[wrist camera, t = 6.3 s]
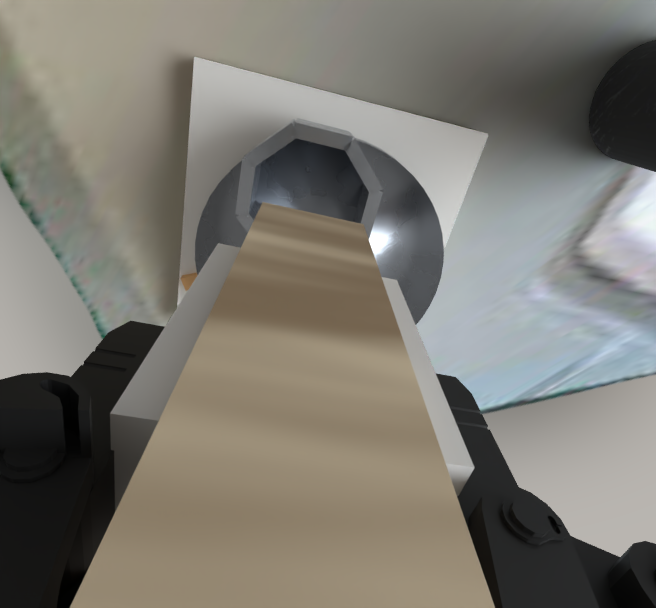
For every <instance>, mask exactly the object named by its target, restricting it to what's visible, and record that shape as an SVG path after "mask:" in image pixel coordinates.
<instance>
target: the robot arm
mask: <svg viewBox="0 0 656 608" xmlns="http://www.w3.org/2000/svg"><path fill="white" fill-rule="evenodd" d="M240 249H241V248H240V247H235V246H230V245H225V244H220V243H218V244H217V246H216V247H215V249H214V250H213V252H212V253H211V255H210V257H209V258H208V260H207V261H206V263H205V264H204V266H203V268H202V269H201V271H200V272H199V274H198V276H197V277H196V279H195V280H194V282H193V283H192V285H191V287H190V288H189V290H188V291H187V293H186V294H185V296H184V298H183V299H182V301H181V302H180V304H179V306H178V307H177V309H176V310H175V312H174V313H173V315H172V317H171V318H170V320H169V321H168V323H167V324H166V326H165V327H163V326H157V325H151V324H146V323H140V322H135V321H129V322H127V323H126V324H124V325H122V326H120V327H118V328H116V329H114V330H112V331H110V332H109V333H108V334H107V335H106V336H105V338H104V339H103V340H102V341H101V343H100V344H99V345H98V346H97V347H96V350H95V352H94V351H93V352H92V353H91V354H90V355H89V357H88V358H87V359H86V360H85V361H84V364H83V365H81V366H80V367H79V368H78V369H77V371H76V372H75V373H74V374H73V375H72V376H71V377H69V376H66V375H59V374H53V373H47V372H46V373H31V374H21V375H17V376H13V377H9V378H5V379H1V380H0V608H70V606H71V604H72V602H73V600H74V598H75V596H76V594H77V592H78V589H79V587H80V585H81V583H82V581H83V579H84V577H85V575H86V573H87V571H88V568H89V566H90V564H91V562H92V560H93V558H94V556H95V554H96V552H97V550H98V547H99V545H100V543H101V541H102V539H103V537H104V535H105V533H106V531H107V528H108V526H109V524H110V522H111V520H112V518H113V516H114V514H115V512H116V510H117V507H118V505H119V503H120V501H121V499H122V497H123V495H124V493H125V491H126V489H127V486H128V484H129V482H130V480H131V478H132V476H133V474H134V472H135V470H136V467H137V465H138V463H139V461H140V459H141V457H142V455H143V453H144V451H145V449H146V446H147V444H148V442H149V440H150V438H151V436H152V434H153V432H154V430H155V428H156V425H157V423H158V421H159V419H160V417H161V415H162V413H163V411H164V409H165V406H166V404H167V402H168V400H169V398H170V396H171V394H172V392H173V390H174V388H175V385H176V383H177V381H178V379H179V377H180V375H181V373H182V371H183V369H184V366H185V364H186V362H187V360H188V358H189V356H190V354H191V352H192V350H193V348H194V345H195V343H196V341H197V339H198V337H199V335H200V333H201V331H202V329H203V327H204V324H205V322H206V320H207V318H208V316H209V314H210V312H211V310H212V308H213V305H214V303H215V301H216V299H217V297H218V295H219V293H220V291H221V289H222V287H223V284H224V282H225V280H226V278H227V276H228V274H229V272H230V270H231V268H232V266H233V263H234V261H235V259H236V257H237V255H238V253H239V251H240ZM382 280H383V283H384V286H385V288H386V291H387V294H388V297H389V300H390V303H391V306H392V309H393V312H394V315H395V318H396V320H397V323H398V326H399V329H400V332H401V335H402V338H403V341H404V344H405V347H406V350H407V353H408V355H409V358H410V361H411V364H412V367H413V370H414V373H415V376H416V379H417V382H418V385H419V387H420V390H421V393H422V396H423V399H424V402H425V405H426V408H427V411H428V414H429V417H430V419H431V422H432V425H433V428H434V431H435V434H436V437H437V440H438V443H439V446H440V449H441V452H442V454H443V457H444V460H445V463H446V466H447V469H448V472H449V475H450V478H451V481H452V484H453V486H454V489H455V492H456V495H457V498H458V501H459V504H460V507H461V510H462V513H463V516H464V518H465V521H466V524H467V527H468V530H469V533H470V536H471V539H472V542H473V545H474V548H475V551H476V553H477V556H478V559H479V562H480V565H481V568H482V571H483V574H484V577H485V580H486V583H487V585H488V588H489V591H490V594H491V597H492V600H493V603H494V606H495V608H656V544H654V543H650V542H647V541H643V542H639V543H634V544H633V545H632V546H631V547H630V548H629V549H628V550H627V551H626V552H625V553H624V554H623V555H622V556H621V557H618V556H616V555H613V554H611V553H609V552H606V551H604V550H602V549H599V548H597V547H595V546H592V545H590V544H587V543H585V542H583V541H581V540H578V539H576V538H574V537H572V536H570V534H569V533H568V531H567V529H566V528H565V526H564V524H563V522H562V520H561V519H560V518H559V517H558V516H557V515H556V514H555V512H554V511H553V510H552V509H551V508H550V507H549V506H548V505H547V504H546V503H544V502H543V501H542V500H540V499H539V498H538V497H536V496H535V495H533V494H532V493H531V492H528V491H526V490H524V489H521V488H519V487H518V485H517V483H516V481H515V479H514V477H513V475H512V473H511V471H510V470H509V467H508V465H507V463H506V461H505V459H504V457H503V455H502V453H501V451H500V449H499V447H498V445H497V443H496V441H495V439H494V437H493V435H492V433H491V431H490V430H488V429H487V427H488V425H487V424H486V422H485V420H484V417H483V415H481V414H480V410H479V408H478V406H477V404H476V402H475V400H474V398H473V396H472V394H471V393H470V392H469V390H468V389H467V388H466V387H465V386H464V385H463V384H462V383H461V382H460V381H459V380H458V379H457V378H456V377H452V376H447V375H441V374H436V373H435V371H434V368H433V366H432V364H431V361H430V359H429V356H428V354H427V352H426V349H425V347H424V344H423V342H422V340H421V337H420V335H419V332H418V330H417V327H416V325H415V323H414V320H413V318H412V315H411V313H410V311H409V308H408V306H407V303H406V301H405V298H404V296H403V294H402V291H401V289H400V286H399V284H398V282H397V280H394V279H390V278H385V277H382Z"/></svg>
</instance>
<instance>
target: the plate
mask: <svg viewBox="0 0 656 608" xmlns="http://www.w3.org/2000/svg"><path fill="white" fill-rule="evenodd" d="M297 118H299V119H303V120H307V121H311V122H315V123H319V124H323V125H327V126H331V127H335V128H339V129H343V130H347V131H349V132H350V133H351V134H352V135H353V136H354V138H357V139H360V140H363V141H366V142H368V143H370V144H372V145H374V146H376V147H378V148H380V149H382V150H383V151H385V152H386V153H388V154H389V155H391V156H392V157H394V158H395V159H396V160H397V161H398V162H399V163H400V164H401V165H402V166H404V167H405V168H406V169H407V170H408V171H409V172H410V173H411V174H412V175H413V176H414V177H415V178H416V180H417V181H418V182H419V183H420V185H421V186H422V187H423V188H424V190H425V192H426V193H427V195H428V197H429V198H430V200H431V202H432V204H433V206H434V208H435V211H436V213H437V216H438V218H439V222H440V226H441V230H442V236H443V246H444V249H445V246H446V244H447V241H448V238H449V236H450V233H451V231H452V228H453V226H454V223H455V220H456V218H457V215H458V213H459V210H460V208H461V205H462V202H463V200H464V197H465V195H466V192H467V189H468V187H469V184H470V182H471V179H472V177H473V174H474V171H475V169H476V166H477V164H478V161H479V159H480V156H481V153H482V151H483V148H484V146H485V143H486V140H487V138H488V135H489V134H487V133H483V132H480V131H476V130H473V129H469V128H465V127H461V126H457V125H454V124H450V123H446V122H442V121H438V120H434V119H431V118H427V117H423V116H419V115H415V114H412V113H408V112H404V111H400V110H396V109H393V108H389V107H385V106H381V105H377V104H374V103H370V102H366V101H362V100H358V99H355V98H351V97H347V96H343V95H339V94H336V93H332V92H328V91H324V90H320V89H317V88H313V87H309V86H305V85H301V84H297V83H294V82H290V81H286V80H282V79H278V78H275V77H271V76H267V75H263V74H259V73H256V72H252V71H248V70H244V69H240V68H237V67H233V66H229V65H225V64H221V63H218V62H214V61H210V60H206V59H202V58H198V57H194V66H193V81H192V96H191V110H190V125H189V140H188V155H187V169H186V184H185V199H184V214H183V228H182V243H181V258H180V272H179V287H178V302H177V307H178V306H179V304H180V302H181V301H182V299H183V298H184V296H185V294H186V293H187V291H188V290H189V288H190V287H191V285H192V283H193V282H194V280H195V279H196V277H197V270H196V263H195V240H196V234H197V228H198V224H199V221H200V218H201V215H202V211H203V209H204V207H205V205H206V203H207V201H208V199H209V197H210V195H211V194H212V193H213V191H214V190H215V188H216V187H217V185H218V184H219V182H220V181H221V180H222V179H223V178H224V177H225V176H226V175H227V174H228V173H229V172H230V170H231V169H232V168H233V167H234V166H235V165H237V164H238V163H239V162H240V161H241V160H242V159H243V158H244V156H245V155H246V154H247V153H248V152H249V151H250V150H251V149H252V148H253V147H255V146H256V145H257V144H259V143H260V142H262V141H263V140H265V139H266V138H268V137H269V136H270V135H272V134H273V133H275V132H276V131H278V130H279V129H280V128H282V127H283V126H285V125H286V124H288V123H289V122H290V121H292V120H293V119H295V120H296V119H297Z"/></svg>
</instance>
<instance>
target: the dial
mask: <svg viewBox="0 0 656 608" xmlns="http://www.w3.org/2000/svg"><path fill="white" fill-rule="evenodd" d="M262 202H266V203H270V204H275V205H279V206H284V207H288V208H293V209H297V210H302V211H306V212H311V213H315V214H320V215H324V216H328V217H333V218H337V219H342V220H346V221H351V222H355V223H360V224H364V227H365V230H366V233H367V236H368V239H369V242H370V245H371V248H372V251H373V253H374V256H375V259H376V262H377V265H378V268H379V271H380V274H381V277H385V278H390V279H394V280H397V282H398V284H399V286H400V289H401V291H402V294H403V296H404V298H405V301H406V303H407V306H408V308H409V311H410V313H411V315H412V318H413V320H414V323H415V325H416V324H417V323H418V322H419V320H420V319H421V318H422V317H423V315H424V314H425V312H426V310H427V309H428V307H429V306H430V304H431V302H432V300H433V298H434V295H435V293H436V291H437V288H438V285H439V281H440V278H441V273H442V267H443V255H444V246H443V236H442V230H441V226H440V222H439V218H438V216H437V213H436V211H435V208H434V206H433V204H432V202H431V200H430V198H429V197H428V195H427V193H426V192H425V190H424V188H423V187H422V186H421V185H420V183H419V182H418V181H417V180H416V178H415V177H414V176H413V175H412V174H411V173H410V172H409V171H408V170H407V169H406V168H405V167H404V166H402V165H401V164H400V163H399V162H398V161H397V160H396V159H395V158H394V157H392V156H391V155H389V154H388V153H386V152H385V151H383V150H382V149H380V148H378V147H376V146H374V145H372V144H370V143H368V142H366V141H363V140H360V139H357V138H354V136H353V135H352V134H351V133H350V132H349V131H347V130H343V129H339V128H335V127H331V126H327V125H323V124H319V123H315V122H311V121H307V120H303V119H299V118H297V119H296V120H295V119H293V120H292V121H290V122H289V123H288V124H286V125H285V126H283V127H282V128H280V129H279V130H278V131H276V132H275V133H273V134H272V135H270V136H269V137H268V138H266V139H265V140H263V141H262V142H260V143H259V144H257V145H256V146H255V147H253V148H252V149H251V150H250V151H249V152H248V153H247V154H246V155H245V156H244V158H243V159H242V160H241V161H240V162H239V163H238V164H237V165H235V166H234V167H233V168H232V169H231V170H230V172H229V173H228V174H227V175H226V176H225V177H224V178H223V179H222V180H221V181H220V182H219V184H218V185H217V187H216V188H215V190H214V191H213V193H212V194H211V195H210V197H209V199H208V201H207V203H206V205H205V207H204V209H203V211H202V215H201V218H200V221H199V224H198V228H197V234H196V240H195V263H196V270H197V276H198V274H199V272H200V271H201V269H202V268H203V266H204V264H205V263H206V261H207V260H208V258H209V257H210V255H211V253H212V252H213V250H214V249H215V247H216V246H217V244H218V243H220V244H225V245H230V246H235V247H240V248H241V247H242V244H243V242H244V240H245V238H246V236H247V234H248V232H249V230H250V228H251V226H252V223H253V221H254V219H255V217H256V215H257V213H258V211H259V209H260V207H261V204H262Z"/></svg>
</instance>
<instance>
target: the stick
mask: <svg viewBox="0 0 656 608" xmlns="http://www.w3.org/2000/svg"><path fill="white" fill-rule="evenodd" d="M70 608H495V606H494V603H493V600H492V597H491V594H490V591H489V588H488V585H487V583H486V580H485V577H484V574H483V571H482V568H481V565H480V562H479V559H478V556H477V553H476V551H475V548H474V545H473V542H472V539H471V536H470V533H469V530H468V527H467V524H466V521H465V518H464V516H463V513H462V510H461V507H460V504H459V501H458V498H457V495H456V492H455V489H454V486H453V484H452V481H451V478H450V475H449V472H448V469H447V466H446V463H445V460H444V457H443V454H442V452H441V449H440V446H439V443H438V440H437V437H436V434H435V431H434V428H433V425H432V422H431V419H430V417H429V414H428V411H427V408H426V405H425V402H424V399H423V396H422V393H421V390H420V387H419V385H418V382H417V379H416V376H415V373H414V370H413V367H412V364H411V361H410V358H409V355H408V353H407V350H406V347H405V344H404V341H403V338H402V335H401V332H400V329H399V326H398V323H397V320H396V318H395V315H394V312H393V309H392V306H391V303H390V300H389V297H388V294H387V291H386V288H385V286H384V283H383V280H382V277H381V274H380V271H379V268H378V265H377V262H376V259H375V256H374V253H373V251H372V248H371V245H370V242H369V239H368V236H367V233H366V230H365V227H364V224H360V223H355V222H351V221H346V220H342V219H337V218H333V217H328V216H324V215H320V214H315V213H311V212H306V211H302V210H297V209H293V208H288V207H284V206H279V205H275V204H270V203H266V202H262V204H261V207H260V209H259V211H258V213H257V215H256V217H255V219H254V221H253V223H252V226H251V228H250V230H249V232H248V234H247V236H246V238H245V240H244V242H243V244H242V247H241V249H240V251H239V253H238V255H237V257H236V259H235V261H234V263H233V266H232V268H231V270H230V272H229V274H228V276H227V278H226V280H225V282H224V284H223V287H222V289H221V291H220V293H219V295H218V297H217V299H216V301H215V303H214V305H213V308H212V310H211V312H210V314H209V316H208V318H207V320H206V322H205V324H204V327H203V329H202V331H201V333H200V335H199V337H198V339H197V341H196V343H195V345H194V348H193V350H192V352H191V354H190V356H189V358H188V360H187V362H186V364H185V366H184V369H183V371H182V373H181V375H180V377H179V379H178V381H177V383H176V385H175V388H174V390H173V392H172V394H171V396H170V398H169V400H168V402H167V404H166V406H165V409H164V411H163V413H162V415H161V417H160V419H159V421H158V423H157V425H156V428H155V430H154V432H153V434H152V436H151V438H150V440H149V442H148V444H147V446H146V449H145V451H144V453H143V455H142V457H141V459H140V461H139V463H138V465H137V467H136V470H135V472H134V474H133V476H132V478H131V480H130V482H129V484H128V486H127V489H126V491H125V493H124V495H123V497H122V499H121V501H120V503H119V505H118V507H117V510H116V512H115V514H114V516H113V518H112V520H111V522H110V524H109V526H108V528H107V531H106V533H105V535H104V537H103V539H102V541H101V543H100V545H99V547H98V550H97V552H96V554H95V556H94V558H93V560H92V562H91V564H90V566H89V568H88V571H87V573H86V575H85V577H84V579H83V581H82V583H81V585H80V587H79V589H78V592H77V594H76V596H75V598H74V600H73V602H72V604H71V606H70Z"/></svg>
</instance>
